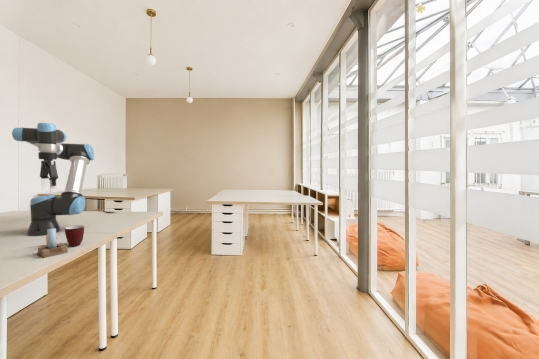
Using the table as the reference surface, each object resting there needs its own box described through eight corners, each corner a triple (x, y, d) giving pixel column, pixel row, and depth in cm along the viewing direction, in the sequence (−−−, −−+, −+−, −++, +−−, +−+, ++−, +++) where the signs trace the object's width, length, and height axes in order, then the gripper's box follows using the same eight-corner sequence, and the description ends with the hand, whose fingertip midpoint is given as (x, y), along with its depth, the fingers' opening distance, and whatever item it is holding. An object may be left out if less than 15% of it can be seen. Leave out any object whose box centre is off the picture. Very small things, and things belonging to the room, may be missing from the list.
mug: (64, 244, 136) (64, 225, 135) (83, 241, 142) (82, 223, 141) (66, 249, 128) (65, 229, 128) (85, 245, 134) (84, 227, 133)
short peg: (45, 245, 133) (45, 234, 132) (53, 244, 136) (52, 233, 135) (47, 246, 131) (47, 235, 131) (55, 245, 134) (54, 234, 133)
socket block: (37, 253, 121) (37, 247, 121) (61, 248, 129) (60, 243, 128) (43, 257, 116) (43, 251, 116) (67, 252, 124) (67, 246, 123)
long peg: (47, 253, 122) (46, 229, 121) (55, 251, 125) (54, 227, 124) (49, 254, 120) (48, 230, 119) (57, 252, 123) (56, 229, 122)
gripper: (31, 152, 139) (33, 189, 140) (46, 151, 125) (48, 193, 126) (48, 152, 145) (50, 188, 147) (64, 152, 131) (66, 192, 133)
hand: (49, 191), depth 136 cm, fingers open, 13 cm apart
